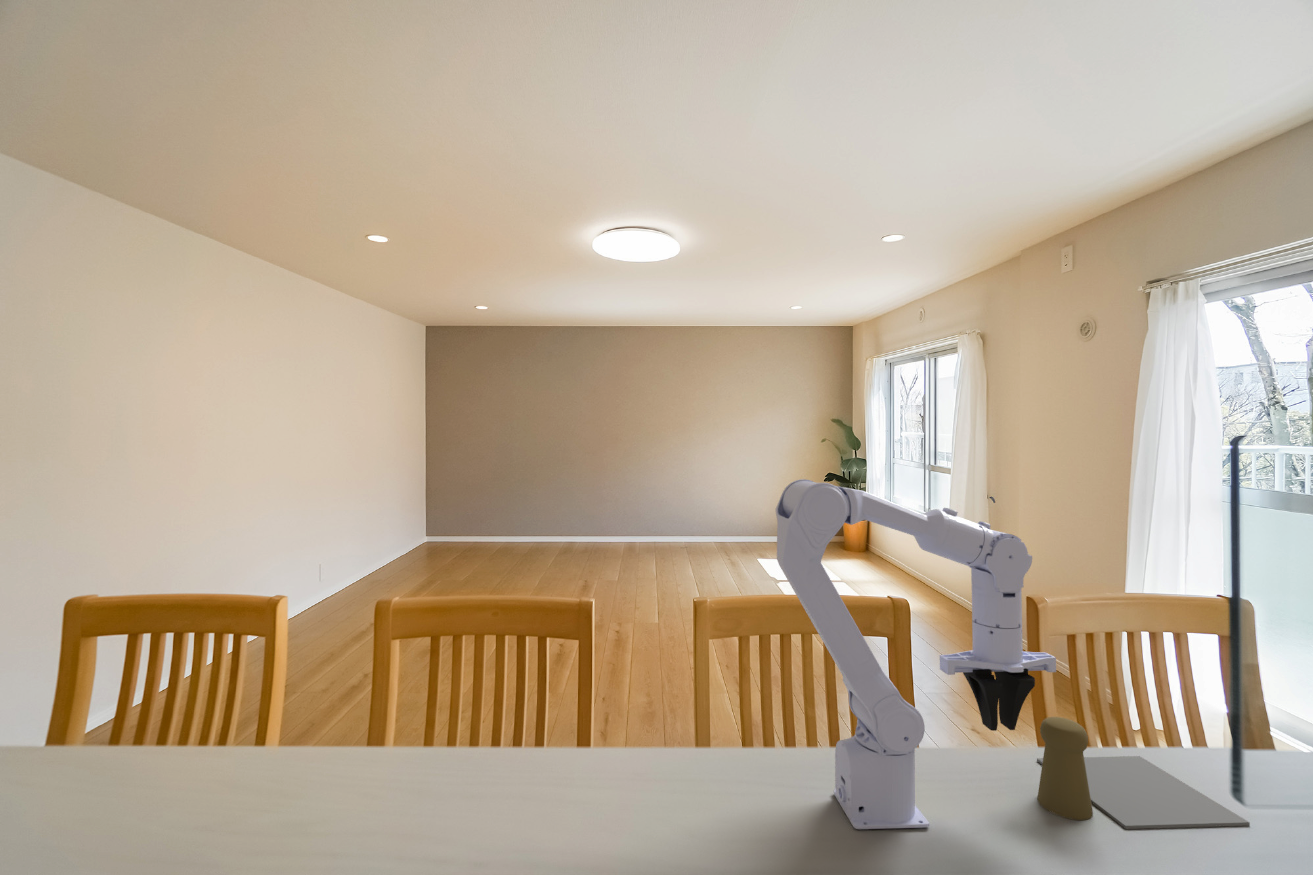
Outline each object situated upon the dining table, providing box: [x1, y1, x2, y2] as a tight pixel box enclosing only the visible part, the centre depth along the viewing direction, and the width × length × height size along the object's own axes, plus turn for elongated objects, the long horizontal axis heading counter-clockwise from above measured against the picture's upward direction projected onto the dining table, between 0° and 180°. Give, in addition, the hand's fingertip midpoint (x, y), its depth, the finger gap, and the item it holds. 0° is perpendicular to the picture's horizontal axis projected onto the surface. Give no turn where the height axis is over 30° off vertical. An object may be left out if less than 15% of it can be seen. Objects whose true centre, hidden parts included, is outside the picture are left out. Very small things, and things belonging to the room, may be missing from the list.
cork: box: [1037, 716, 1094, 821], centre depth 78 cm, size 6×6×11 cm
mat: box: [1036, 755, 1251, 830], centre depth 82 cm, size 16×16×1 cm
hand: (998, 726), depth 78 cm, fingers closed
